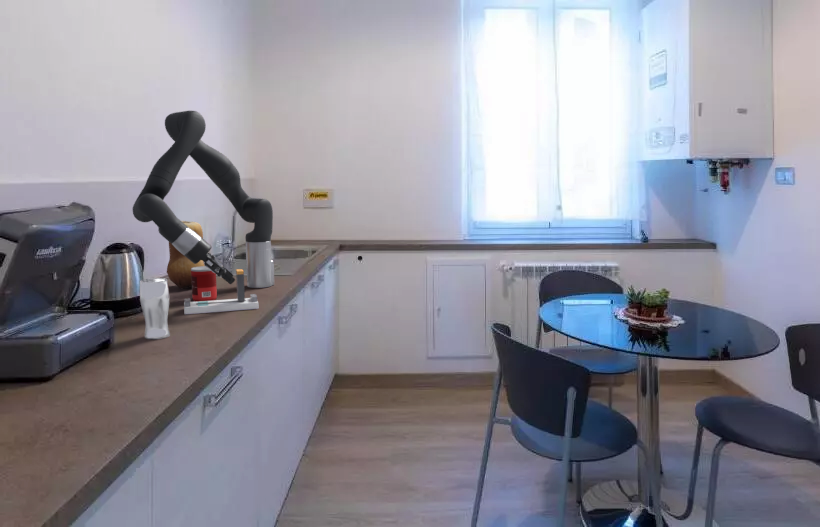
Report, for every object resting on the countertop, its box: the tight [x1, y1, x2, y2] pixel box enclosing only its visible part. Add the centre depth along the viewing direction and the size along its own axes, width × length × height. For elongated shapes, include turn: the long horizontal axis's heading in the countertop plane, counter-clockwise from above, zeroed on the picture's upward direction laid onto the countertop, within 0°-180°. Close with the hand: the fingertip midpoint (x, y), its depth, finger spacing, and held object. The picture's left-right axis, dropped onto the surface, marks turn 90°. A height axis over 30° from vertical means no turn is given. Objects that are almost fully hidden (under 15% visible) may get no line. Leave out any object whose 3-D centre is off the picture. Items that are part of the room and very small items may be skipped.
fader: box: [235, 268, 246, 302], centre depth 184 cm, size 2×4×10 cm, turn 21°
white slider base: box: [183, 293, 260, 315], centre depth 183 cm, size 22×8×4 cm, turn 111°
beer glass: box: [139, 277, 171, 340], centre depth 150 cm, size 7×7×15 cm
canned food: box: [191, 265, 218, 302], centre depth 195 cm, size 8×8×11 cm
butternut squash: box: [166, 220, 205, 289], centre depth 216 cm, size 14×13×25 cm
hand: (232, 279), depth 183 cm, fingers open, 8 cm apart
